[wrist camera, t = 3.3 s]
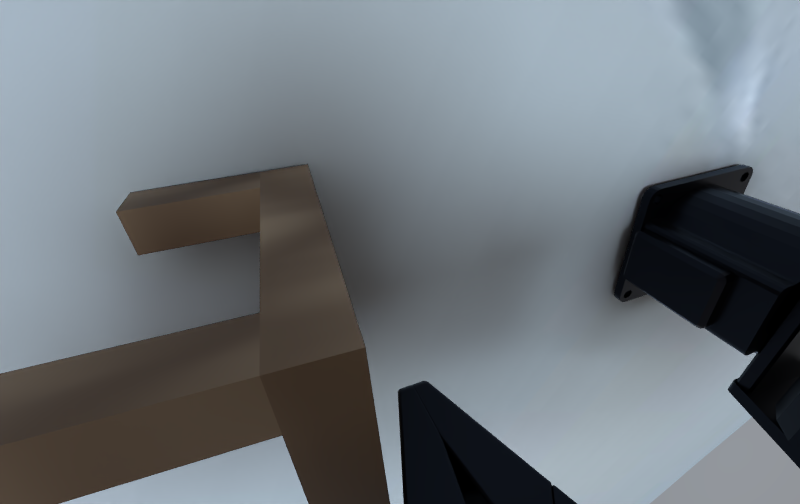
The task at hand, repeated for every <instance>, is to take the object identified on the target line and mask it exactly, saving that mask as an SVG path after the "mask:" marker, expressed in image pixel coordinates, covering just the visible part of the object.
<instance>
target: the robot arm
mask: <svg viewBox="0 0 800 504" xmlns="http://www.w3.org/2000/svg"><path fill="white" fill-rule="evenodd" d="M752 173H753V169H752V167H749V166H745V165H737V166H733V167H729V168H725V169H720V170H716V171H712V172H708V173H704V174H700V175H696V176H692V177H688V178H684V179H680V180H675V181H671V182H667V183H663V184H659V185H655V186H652V187H650V188H649V189H648V190H647V191H646V192H645V193H644V195H643V197H642V200H641V204H640V207H639V210H638V214H637V217H636V220H635V224H634V227H633V231H632V234H631V237H630V241H629V244H628V248H627V251H626V254H625V258H624V261H623V265H622V268H621V271H620V275H619V278H618V282H617V285H616V288H615V292H614V296H615V297H616V298H617V299H619V300H620V301H622V302H625V301H628V300H631V299H634V298H637V297H640V296H643V295H646V294H648V295H650V296H651V297H653V298H654V299H656V300H657V301H659V302H660V303H662V304H663V305H664V306H666V307H667V308H669V309H670V310H672V311H673V312H675V313H676V314H678V315H679V316H681V317H682V318H684V319H685V320H687V321H688V322H690V323H691V324H693V325H694V326H696V327H698V328H705V329H706V330H708V331H709V332H711V333H712V334H714V335H715V336H717V337H718V338H720V339H721V340H723V341H724V342H726V343H727V344H729V345H730V346H732V347H733V348H735V349H737V350H738V351H740V352H741V353H743V354H744V355H749V354H751V353H754V352H755V353H756V356H755V357H754V358H753V360H752V361H751V362H750V364H749V365H748V366H747V368H746V369H745V371H744V372H743V373H742V375H741V376H740V377H739V378H738V379H735V380H734V381H733V382H732V384H731V385H730V386H729V388H728V391H729V392H730V393H731V394H732V395H733V396H734V398H735V399H736V400H737V401H738V402H739V403H740V404H741V405H742V406H743V407H744V408H745V410H746V411H747V412H748V413H749V414H750V415H751V416H752V417H753V418H754V419H755V420H756V421H757V423H758V424H759V425H760V426H761V427H762V428H763V429H764V430H765V431H766V432H767V433H768V434H769V436H770V437H771V438H772V439H773V440H774V441H775V442H776V443H777V444H778V445H779V446H780V447H781V449H782V450H783V451H784V452H785V453H786V454H787V455H788V456H789V457H790V458H791V460H793V462H794V463H795V464H796V465H797V466H798V467H799V468H800V214H799V213H796V212H793V211H790V210H788V209H785V208H782V207H779V206H776V205H773V204H770V203H767V202H765V201H762V200H759V199H756V198H753V197H750V196H747V195H744V192H745V189H746V187H747V185H748V183H749V180H750V178H751V176H752ZM398 403H399V422H400V441H401V460H402V479H403V498H404V504H577V503H576V502H574V501H573V500H572V499H571V498H569V497H568V496H567V495H566V494H564V493H563V492H562V491H561V490H560V489H558V488H557V487H556V486H554V485H553V486H552V485H551V482H550V481H548V480H547V479H546V478H545V477H544V476H542V475H541V474H540V473H539V472H537V471H536V470H535V469H534V468H533V467H531V466H530V465H529V464H528V463H526V462H525V461H524V460H523V459H522V458H520V457H519V456H518V455H517V454H515V453H514V452H513V451H512V450H511V449H509V448H508V447H507V446H506V445H504V444H503V443H502V442H501V441H500V440H498V439H497V438H496V437H495V436H493V435H492V434H491V433H490V432H489V431H487V430H486V429H485V428H484V427H482V426H481V425H480V424H479V423H478V422H476V421H475V420H474V419H473V418H471V417H470V416H469V415H468V414H467V413H465V412H464V411H463V410H462V409H460V408H459V407H458V406H457V405H456V404H454V403H453V402H452V401H451V400H449V399H448V398H447V397H446V396H445V395H443V394H442V393H441V392H440V391H438V390H437V389H436V388H435V387H434V386H432V385H431V384H430V383H428V382H427V381H422V382H419V383H416V384H413V385H410V386H407V387H404V388H401V389H399V390H398Z"/></svg>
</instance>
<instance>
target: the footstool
mask: <svg viewBox="0 0 800 504" xmlns="http://www.w3.org/2000/svg"><path fill="white" fill-rule="evenodd" d="M116 213H117V215H118V217H119V219H120V221H121V223H122V225H123V227H124V229H125V231H126V233H127V234H128V236H129V238H130V240H131V242H132V244H133V246H134V248H135V250H136V252H137V254H138V255H143V254H148V253H153V252H158V251H164V250H169V249H174V248H179V247H184V246H190V245H195V244H200V243H205V242H211V241H216V240H221V239H226V238H231V237H237V236H242V235H247V234H252V233H257V232H260V313H256V314H252V315H248V316H243V317H239V318H235V319H231V320H226V321H222V322H218V323H214V324H209V325H205V326H201V327H197V328H192V329H188V330H184V331H180V332H175V333H171V334H167V335H163V336H158V337H154V338H150V339H146V340H142V341H137V342H133V343H129V344H125V345H120V346H116V347H112V348H108V349H103V350H99V351H95V352H91V353H86V354H82V355H78V356H74V357H69V358H65V359H61V360H57V361H52V362H48V363H44V364H40V365H35V366H31V367H27V368H23V369H18V370H14V371H10V372H6V373H1V374H0V504H59V503H62V502H66V501H69V500H72V499H75V498H79V497H82V496H85V495H89V494H92V493H95V492H98V491H102V490H105V489H108V488H111V487H115V486H118V485H121V484H125V483H128V482H131V481H134V480H138V479H141V478H144V477H148V476H151V475H154V474H157V473H161V472H164V471H167V470H170V469H174V468H177V467H180V466H184V465H187V464H190V463H193V462H197V461H200V460H203V459H206V458H210V457H213V456H216V455H220V454H223V453H226V452H229V451H233V450H236V449H239V448H242V447H246V446H249V445H252V444H256V443H259V442H262V441H265V440H269V439H272V438H275V437H278V436H283V438H284V441H285V443H286V446H287V449H288V451H289V454H290V456H291V459H292V462H293V464H294V467H295V469H296V472H297V475H298V477H299V480H300V482H301V485H302V488H303V490H304V493H305V495H306V498H307V501H308V503H309V504H390V501H389V494H388V488H387V482H386V475H385V469H384V462H383V456H382V450H381V443H380V437H379V431H378V424H377V418H376V412H375V405H374V399H373V393H372V386H371V380H370V373H369V367H368V361H367V354H366V348H365V344H364V341H363V338H362V335H361V332H360V329H359V325H358V322H357V319H356V316H355V313H354V310H353V307H352V303H351V300H350V297H349V294H348V291H347V288H346V284H345V281H344V278H343V275H342V272H341V269H340V265H339V262H338V259H337V256H336V253H335V250H334V246H333V243H332V240H331V237H330V234H329V231H328V227H327V224H326V221H325V218H324V215H323V212H322V208H321V205H320V202H319V199H318V196H317V193H316V189H315V186H314V183H313V180H312V177H311V174H310V170H309V167H308V164H307V165H300V166H294V167H288V168H282V169H275V170H269V171H263V172H257V173H250V174H244V175H238V176H231V177H225V178H219V179H213V180H206V181H200V182H194V183H188V184H181V185H175V186H169V187H163V188H156V189H150V190H144V191H138V192H131V193H130V194H129V195H128V196H127V198H126V199H125V201H124V202H123V203H122V205H121V206H120V207H119V209H118V210H117V211H116Z"/></svg>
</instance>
